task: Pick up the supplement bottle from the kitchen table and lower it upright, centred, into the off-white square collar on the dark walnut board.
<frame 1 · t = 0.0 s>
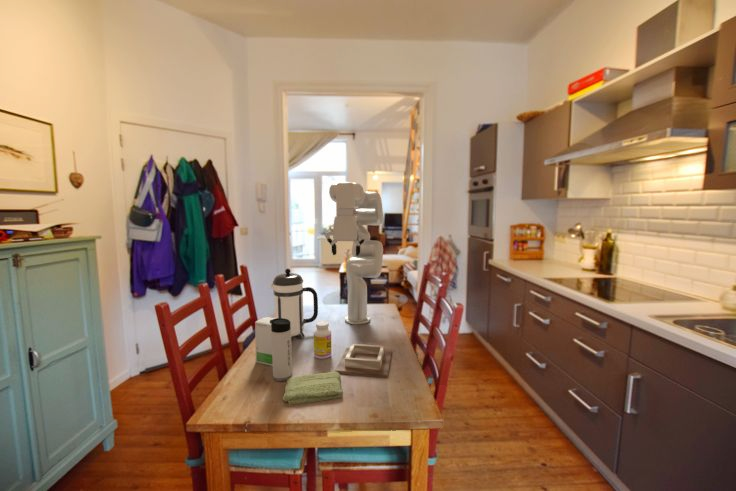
hand: (346, 254, 134), 37 cm above the table, tool pointing down, fingers open, 9 cm apart
washcloth: (313, 392, 101), on the table
skincare box: (270, 361, 120), on the table
coffee press: (292, 335, 144), on the table
collar dock: (365, 362, 119), on the table
travel mug: (282, 377, 109), on the table
supplement bottle: (322, 355, 125), on the table
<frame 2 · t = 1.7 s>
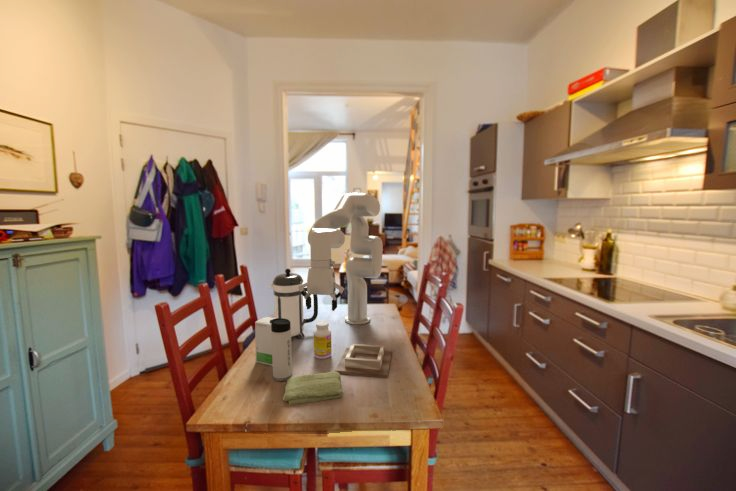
hand: (321, 309, 122), 19 cm above the table, tool pointing down, fingers open, 9 cm apart
nothing on the table moved.
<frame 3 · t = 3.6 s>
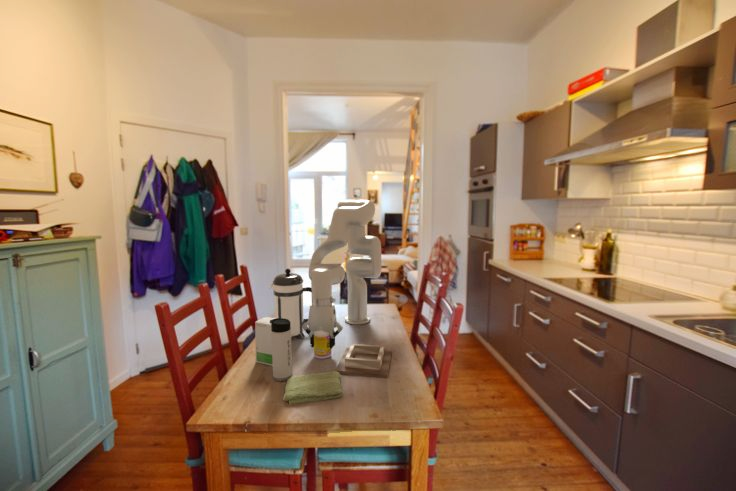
hand: (322, 346, 124), 4 cm above the table, tool pointing down, fingers closed on supplement bottle, 6 cm apart
supplement bottle: (322, 355, 125), on the table, touching gripper
everything else where it was.
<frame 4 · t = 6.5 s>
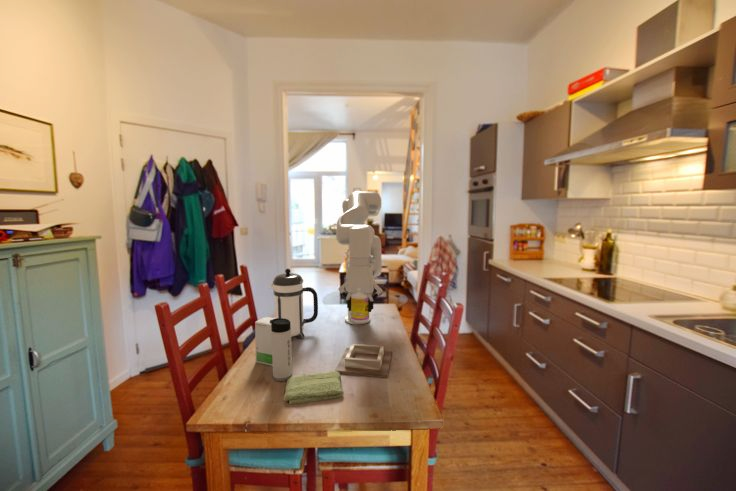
hand: (360, 310, 117), 20 cm above the table, tool pointing down, fingers closed on supplement bottle, 6 cm apart
supplement bottle: (360, 320, 117), point 16 cm above the table, touching gripper
everything else where it was.
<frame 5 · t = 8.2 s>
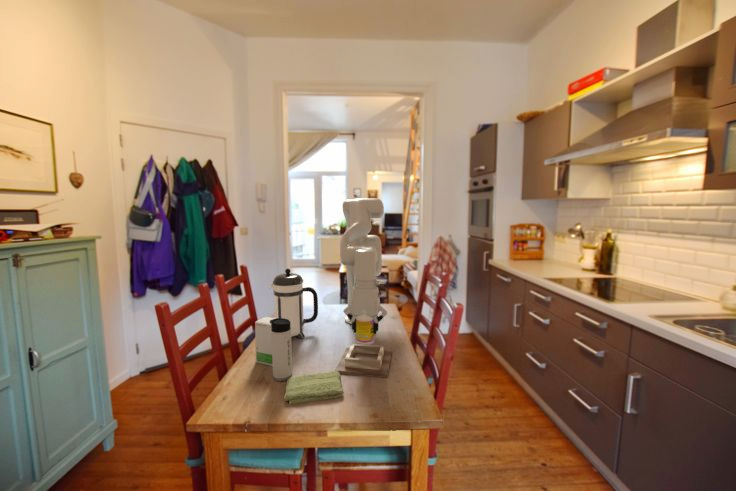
hand: (365, 331, 117), 12 cm above the table, tool pointing down, fingers closed on supplement bottle, 6 cm apart
supplement bottle: (365, 342, 118), point 8 cm above the table, touching gripper
everything else where it was.
when the fingers open (6 cm above the table, at t = 9.7 s): supplement bottle drops 2 cm, resting on collar dock.
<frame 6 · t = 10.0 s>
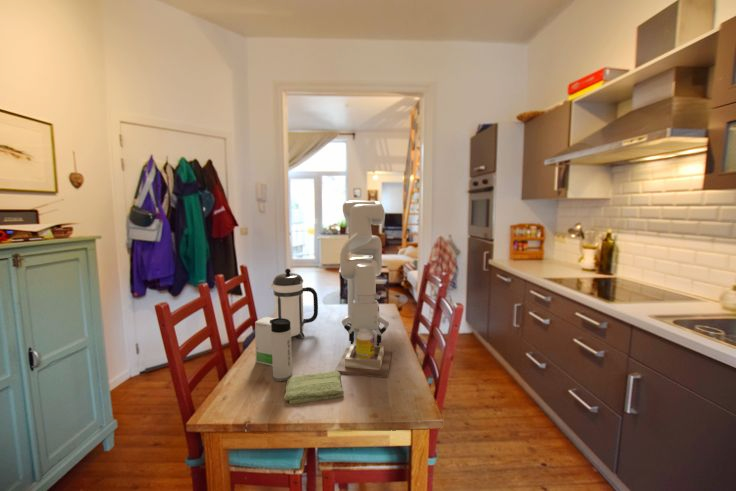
hand: (365, 343, 118), 7 cm above the table, tool pointing down, fingers open, 9 cm apart
supplement bottle: (365, 360, 119), point 1 cm above the table, touching collar dock
everything else where it was.
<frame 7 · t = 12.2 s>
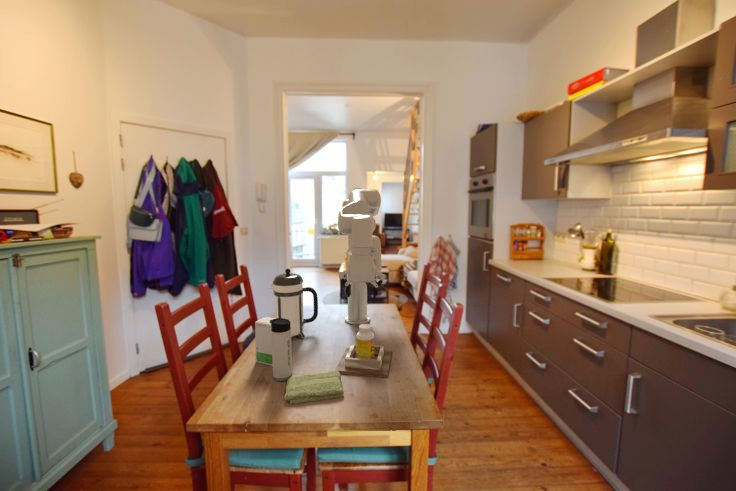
hand: (362, 296, 120), 24 cm above the table, tool pointing down, fingers open, 9 cm apart
nothing on the table moved.
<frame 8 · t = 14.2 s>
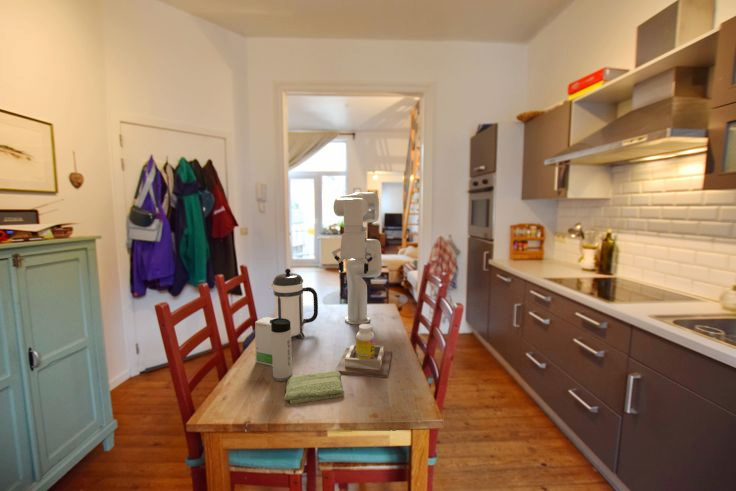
hand: (353, 272, 130), 30 cm above the table, tool pointing down, fingers open, 9 cm apart
nothing on the table moved.
at the end: supplement bottle 0.1 cm off-centre on the collar dock, point 0.8 cm above the collar dock's base; supplement bottle tilted 0°; the gripper is holding nothing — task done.
